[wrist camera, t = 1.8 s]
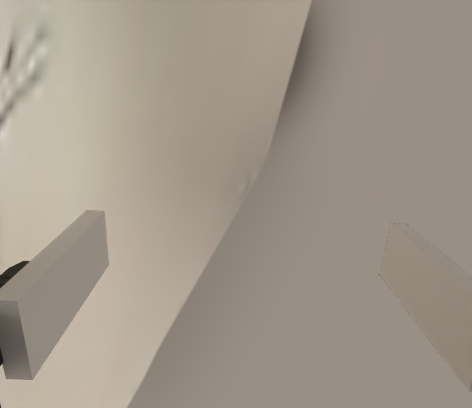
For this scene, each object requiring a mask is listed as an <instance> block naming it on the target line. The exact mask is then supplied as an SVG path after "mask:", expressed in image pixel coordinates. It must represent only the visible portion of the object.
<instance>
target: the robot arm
mask: <svg viewBox="0 0 472 408" xmlns="http://www.w3.org/2000/svg"><path fill="white" fill-rule="evenodd" d="M108 265H109V261H108V249H107V237H106V226H105V214H104V211H95V210H87V211H86V212H84V213H83V214H82V215H81V216H80V217H79V218H78V219H77V220H76V221H74V222H73V223H72V224H71V225H70V226H69V227H68V228H67V229H66V230H64V231H63V232H62V233H61V234H60V235H59V236H58V237H57V238H56V239H54V240H53V241H52V242H51V243H50V244H49V245H48V246H47V247H46V248H45V249H43V250H42V251H41V252H40V253H39V254H38V255H37V256H36V257H35V258H33V259H32V260H31V261H22V262H20V263H18V264H16V265H14V266H12V267H10V268H8V269H7V270H6V271H5V272H4V273H3V274H1V275H0V366H1V365H2V363H3V368H4V372H5V376H6V379H26V380H33V378H34V377H35V375H36V374H37V372H38V371H39V369H40V368H41V366H42V365H43V363H44V362H45V360H46V359H47V357H48V356H49V354H50V353H51V351H52V350H53V348H54V347H55V345H56V344H57V342H58V341H59V339H60V338H61V336H62V335H63V333H64V332H65V330H66V329H67V327H68V326H69V324H70V323H71V321H72V320H73V318H74V317H75V315H76V313H77V312H78V310H79V309H80V307H81V306H82V304H83V303H84V301H85V300H86V298H87V297H88V295H89V294H90V292H91V291H92V289H93V288H94V286H95V285H96V283H97V282H98V280H99V279H100V277H101V276H102V274H103V273H104V271H105V270H106V268H107V267H108ZM379 275H380V277H381V278H382V279H383V281H384V282H385V283H386V285H387V286H388V287H389V288H390V290H391V291H392V292H393V294H394V295H395V296H396V298H397V299H398V300H399V301H400V303H401V304H402V305H403V307H404V308H405V309H406V311H407V312H408V313H409V315H410V316H411V317H412V318H413V320H414V321H415V322H416V324H417V325H418V326H419V328H420V329H421V330H422V332H423V333H424V334H425V335H426V337H427V338H428V339H429V341H430V342H431V343H432V345H433V346H434V347H435V349H436V350H437V351H438V352H439V354H440V355H441V356H442V358H443V359H444V360H445V362H446V363H447V364H448V365H449V367H450V368H451V369H452V371H453V372H454V373H455V375H456V376H457V377H458V378H459V380H460V381H461V382H462V384H463V385H464V386H465V388H466V389H467V390H468V391H472V276H471V275H469V274H468V273H467V272H466V271H464V270H463V269H462V268H461V267H459V266H458V265H457V264H456V263H455V262H453V261H452V260H451V259H450V258H448V257H447V256H446V255H445V254H443V253H442V252H441V251H440V250H438V249H437V248H436V247H435V246H434V245H432V244H431V243H430V242H429V241H427V240H426V239H425V238H424V237H422V236H421V235H420V234H419V233H418V232H416V231H415V230H414V229H413V228H411V227H410V226H409V225H408V224H397V223H391V224H390V229H389V233H388V238H387V242H386V247H385V251H384V256H383V260H382V265H381V269H380V273H379ZM0 408H1V405H0Z"/></svg>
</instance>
